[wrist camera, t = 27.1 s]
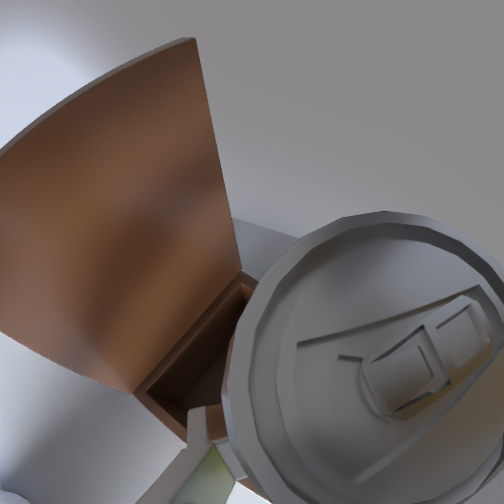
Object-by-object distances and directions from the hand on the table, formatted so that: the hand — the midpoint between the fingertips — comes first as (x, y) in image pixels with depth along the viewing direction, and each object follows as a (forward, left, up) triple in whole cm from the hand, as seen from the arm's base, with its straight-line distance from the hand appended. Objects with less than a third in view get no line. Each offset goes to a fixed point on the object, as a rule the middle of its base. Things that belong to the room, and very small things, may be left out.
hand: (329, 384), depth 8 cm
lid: (0, +9, -2) cm, 9 cm away
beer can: (0, -1, -7) cm, 7 cm away
